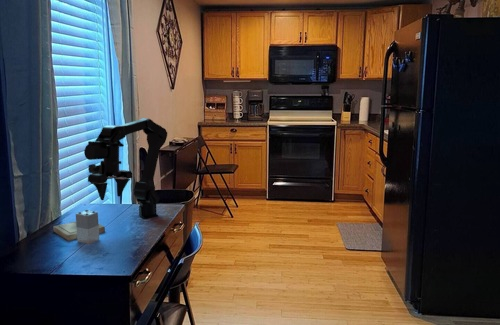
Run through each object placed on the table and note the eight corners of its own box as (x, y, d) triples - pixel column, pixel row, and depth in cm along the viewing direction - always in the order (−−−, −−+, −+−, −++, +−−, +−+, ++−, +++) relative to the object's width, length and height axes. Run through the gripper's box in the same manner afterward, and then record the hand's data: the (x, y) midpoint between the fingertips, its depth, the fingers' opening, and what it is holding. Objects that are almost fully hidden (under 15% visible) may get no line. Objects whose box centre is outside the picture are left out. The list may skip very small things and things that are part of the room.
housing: (88, 237, 153) (86, 209, 151) (99, 239, 151) (97, 211, 149) (77, 241, 148) (75, 212, 147) (88, 244, 146) (87, 214, 144)
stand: (89, 223, 169) (88, 217, 168) (105, 231, 159) (104, 225, 159) (53, 231, 159) (53, 225, 159) (68, 240, 149) (67, 234, 149)
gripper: (111, 155, 171) (111, 192, 172) (76, 158, 154) (76, 199, 155) (133, 157, 167) (132, 195, 168) (99, 160, 149) (99, 203, 151)
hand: (110, 198), depth 161 cm, fingers open, 9 cm apart
